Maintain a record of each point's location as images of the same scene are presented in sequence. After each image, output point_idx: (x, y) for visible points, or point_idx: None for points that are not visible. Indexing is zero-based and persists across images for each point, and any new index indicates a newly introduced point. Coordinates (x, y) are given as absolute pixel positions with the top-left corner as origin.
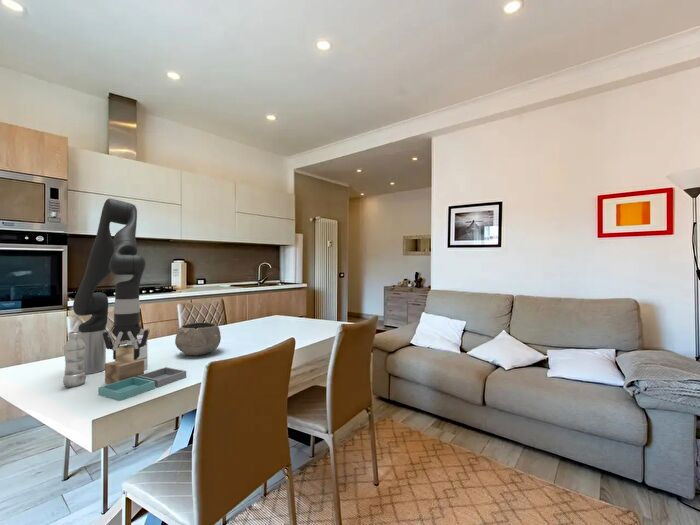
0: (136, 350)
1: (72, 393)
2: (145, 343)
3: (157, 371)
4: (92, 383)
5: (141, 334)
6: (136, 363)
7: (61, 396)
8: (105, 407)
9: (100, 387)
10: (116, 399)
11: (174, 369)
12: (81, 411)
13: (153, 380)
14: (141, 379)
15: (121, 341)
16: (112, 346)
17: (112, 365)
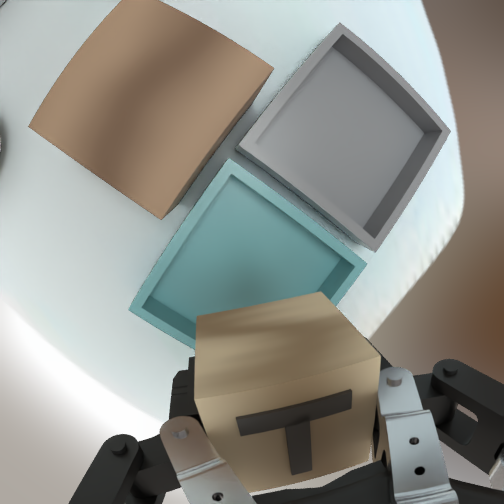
0: None
1: (18, 237)
2: (462, 377)
3: (315, 65)
4: (26, 116)
5: (490, 480)
6: (236, 114)
7: (5, 264)
8: None
9: (137, 311)
10: None
11: (398, 82)
12: None
13: (352, 233)
14: (293, 218)
15: (231, 472)
16: (173, 486)
17: (90, 169)
